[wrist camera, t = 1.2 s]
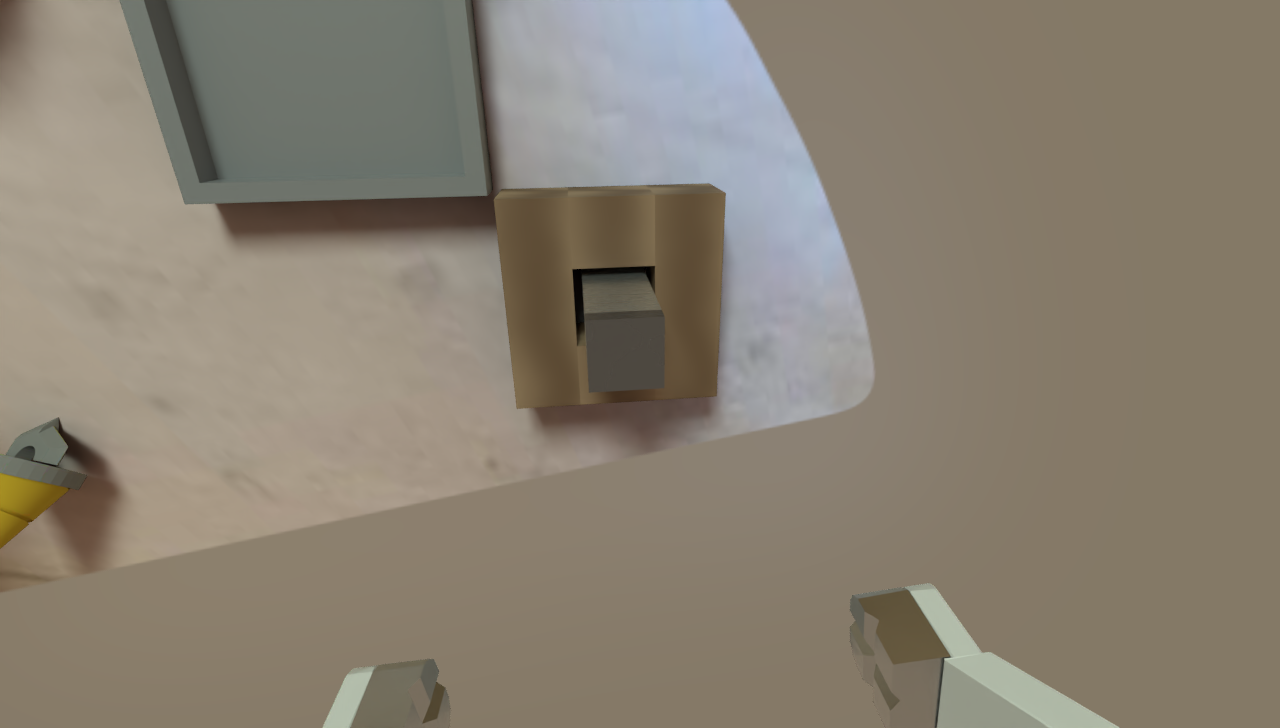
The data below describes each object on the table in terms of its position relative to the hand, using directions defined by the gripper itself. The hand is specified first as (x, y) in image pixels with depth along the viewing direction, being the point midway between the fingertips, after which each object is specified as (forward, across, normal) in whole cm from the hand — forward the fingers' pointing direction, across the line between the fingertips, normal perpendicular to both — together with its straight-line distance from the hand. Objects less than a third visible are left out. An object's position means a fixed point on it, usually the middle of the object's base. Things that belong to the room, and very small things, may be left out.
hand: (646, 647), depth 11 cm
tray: (+26, +13, -15) cm, 33 cm away
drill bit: (+26, +36, +6) cm, 45 cm away
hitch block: (+27, 0, 0) cm, 27 cm away
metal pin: (+27, 0, 0) cm, 27 cm away
